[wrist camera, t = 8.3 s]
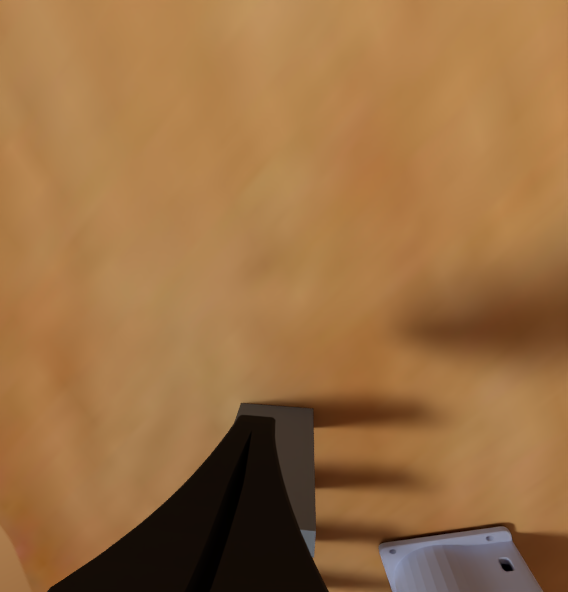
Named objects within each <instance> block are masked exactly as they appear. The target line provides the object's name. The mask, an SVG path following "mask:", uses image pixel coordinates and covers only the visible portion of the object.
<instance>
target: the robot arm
mask: <svg viewBox="0 0 568 592" xmlns="http://www.w3.org/2000/svg"><path fill="white" fill-rule="evenodd" d="M275 423H276V420H275V419H274V418H273V417H265V416H253V415H240V416H239V417H238V418H237V420H236V421H235V423H234V424H233V426H232V427H231V429H230V430H229V431H228V433H227V434H226V435H225V437H224V438H223V439H222V441H221V442H220V443H219V445H218V446H217V447H216V448H215V450H214V451H213V452H212V453H211V455H210V456H209V457H208V458H207V459H206V460H205V462H204V463H203V464H202V465H201V466H200V467H199V468H198V469H197V470H196V472H195V473H194V474H193V475H192V476H191V477H190V478H189V479H188V480H187V481H186V482H185V483H184V484H183V485H182V486H181V487H180V488H179V489H178V490H177V491H176V492H175V493H174V494H173V495H172V496H171V497H170V498H169V499H168V500H167V501H166V502H165V503H164V504H162V505H161V506H160V507H159V508H158V509H157V510H156V511H154V512H153V513H152V514H151V515H150V516H149V517H148V518H146V519H145V520H144V521H143V522H142V523H140V524H139V525H138V526H137V527H136V528H134V529H133V530H132V531H130V532H129V533H128V534H126V535H125V536H124V537H123V538H121V539H120V540H119V541H117V542H116V543H115V544H113V545H112V546H111V547H109V548H108V549H107V550H106V551H104V552H103V553H101V554H100V555H99V556H97V557H96V558H94V559H93V560H91V561H90V562H88V563H87V564H85V565H84V566H82V567H81V568H79V569H78V570H76V571H75V572H73V573H72V574H70V575H69V576H67V577H66V578H64V579H63V580H61V581H60V582H58V583H57V584H55V585H54V586H52V587H50V589H49V590H48V591H47V592H329V591H328V589H327V587H326V585H325V583H324V581H323V579H322V577H321V575H320V573H319V571H318V569H317V567H316V565H315V563H314V561H313V558H312V556H311V554H310V551H309V549H308V547H307V544H306V542H305V540H304V538H303V535H302V533H301V531H300V528H299V525H298V523H297V520H296V517H295V515H294V512H293V509H292V506H291V503H290V500H289V497H288V494H287V491H286V487H285V484H284V480H283V476H282V472H281V468H280V464H279V459H278V454H277V448H276V440H275ZM379 552H380V555H381V559H382V562H383V565H384V568H385V571H386V574H387V577H388V580H389V583H390V586H391V589H392V592H543V590H542V589H541V587H540V585H539V584H538V582H537V580H536V579H535V577H534V575H533V574H532V572H531V571H530V569H529V567H528V566H527V564H526V562H525V561H524V559H523V557H522V556H521V554H520V553H519V551H518V549H517V548H516V546H515V544H514V543H513V541H512V535H511V533H510V531H509V530H508V528H506V527H503V526H499V527H492V528H485V529H478V530H471V531H463V532H456V533H449V534H442V535H435V536H428V537H421V538H414V539H407V540H400V541H392V542H385V543H381V544H380V545H379Z"/></svg>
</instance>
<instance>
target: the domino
mask: <svg viewBox="0 0 568 592" xmlns="http://www.w3.org/2000/svg"><path fill="white" fill-rule="evenodd" d="M240 415H253V416H265V417H273V418H274V419H275V420H276V423H275V440H276V448H277V454H278V459H279V464H280V468H281V472H282V476H283V480H284V484H285V487H286V491H287V494H288V497H289V500H290V503H291V506H292V509H293V512H294V515H295V517H296V520H297V523H298V525H299V528H300V531H301V533H302V535H303V538H304V540H305V542H306V544H307V547H308V549H309V551H310V554H311V556H312V557H314V549H315V537H316V512H315V469H314V427H313V409H312V408H299V407H285V406H272V405H258V404H245V403H241V405H240V408H239V410H238V413H237V416H236V419H235V421H236V420H237V418H238V417H239V416H240ZM234 423H235V422H234Z"/></svg>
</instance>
